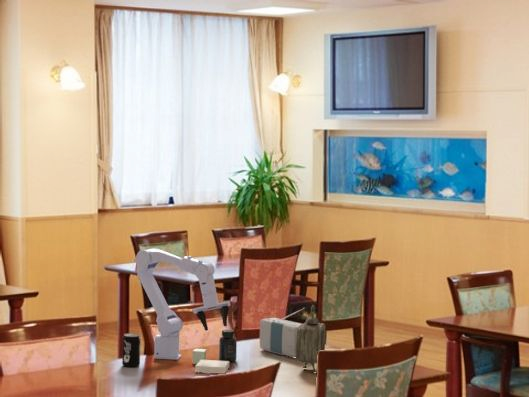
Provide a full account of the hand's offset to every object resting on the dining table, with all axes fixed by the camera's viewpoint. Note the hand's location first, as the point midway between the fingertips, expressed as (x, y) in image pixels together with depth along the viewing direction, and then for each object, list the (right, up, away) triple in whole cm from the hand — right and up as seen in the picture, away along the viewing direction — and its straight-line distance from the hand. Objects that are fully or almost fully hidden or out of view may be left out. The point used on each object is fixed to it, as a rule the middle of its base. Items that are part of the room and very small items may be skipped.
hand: (215, 328), depth 411 cm
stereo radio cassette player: (+26, -13, +23) cm, 37 cm away
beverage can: (-32, -14, -7) cm, 35 cm away
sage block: (-7, -14, +2) cm, 15 cm away
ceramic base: (-1, -15, -10) cm, 18 cm away
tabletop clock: (+36, -16, -5) cm, 39 cm away
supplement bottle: (+4, -14, +6) cm, 16 cm away
